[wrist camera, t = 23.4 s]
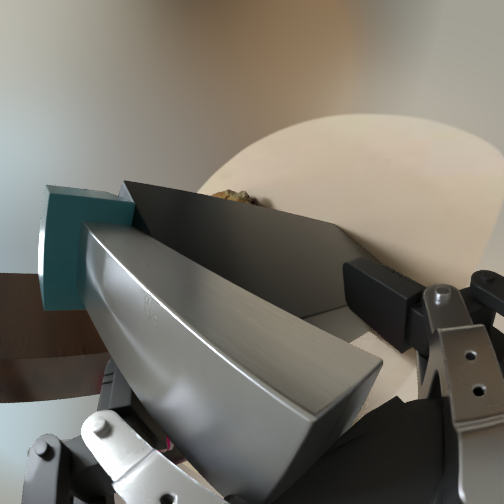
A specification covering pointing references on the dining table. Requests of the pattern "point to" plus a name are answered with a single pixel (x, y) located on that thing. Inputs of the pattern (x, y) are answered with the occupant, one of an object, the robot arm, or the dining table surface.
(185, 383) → the handle bar
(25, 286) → the plinth
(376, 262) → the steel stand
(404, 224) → the dining table surface
